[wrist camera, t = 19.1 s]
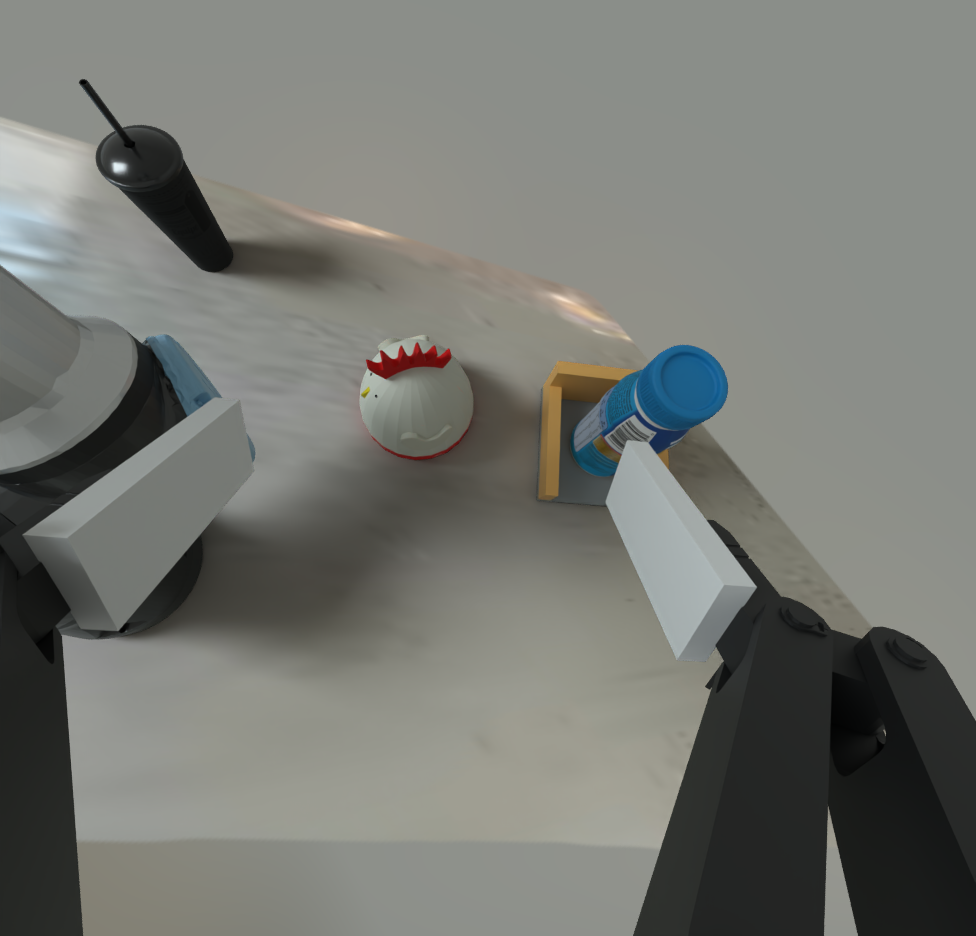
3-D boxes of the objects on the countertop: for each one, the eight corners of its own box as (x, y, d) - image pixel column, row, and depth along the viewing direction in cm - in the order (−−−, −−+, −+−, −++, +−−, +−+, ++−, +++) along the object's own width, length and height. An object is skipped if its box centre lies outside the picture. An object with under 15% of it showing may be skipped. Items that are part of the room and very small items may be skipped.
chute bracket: (650, 510, 52) (687, 501, 45) (536, 500, 51) (553, 489, 43) (648, 401, 56) (682, 375, 48) (541, 389, 54) (558, 360, 47)
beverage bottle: (561, 420, 53) (630, 338, 33) (621, 411, 54) (723, 328, 34) (575, 483, 51) (657, 436, 32) (637, 473, 52) (753, 422, 33)
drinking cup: (235, 224, 55) (122, 41, 35) (251, 272, 53) (143, 108, 34) (175, 239, 53) (22, 55, 34) (190, 288, 52) (41, 126, 33)
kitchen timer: (353, 368, 52) (319, 294, 38) (457, 348, 54) (463, 271, 40) (375, 471, 50) (349, 434, 35) (484, 446, 52) (501, 402, 37)
